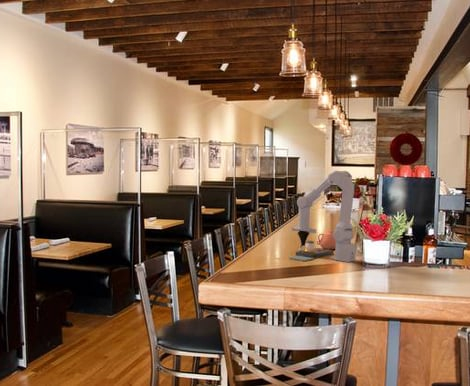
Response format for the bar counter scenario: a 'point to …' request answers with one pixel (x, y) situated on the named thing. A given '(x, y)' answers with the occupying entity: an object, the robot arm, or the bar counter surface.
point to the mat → (301, 258)
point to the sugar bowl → (327, 241)
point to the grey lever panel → (318, 253)
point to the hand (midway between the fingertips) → (303, 245)
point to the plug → (309, 247)
